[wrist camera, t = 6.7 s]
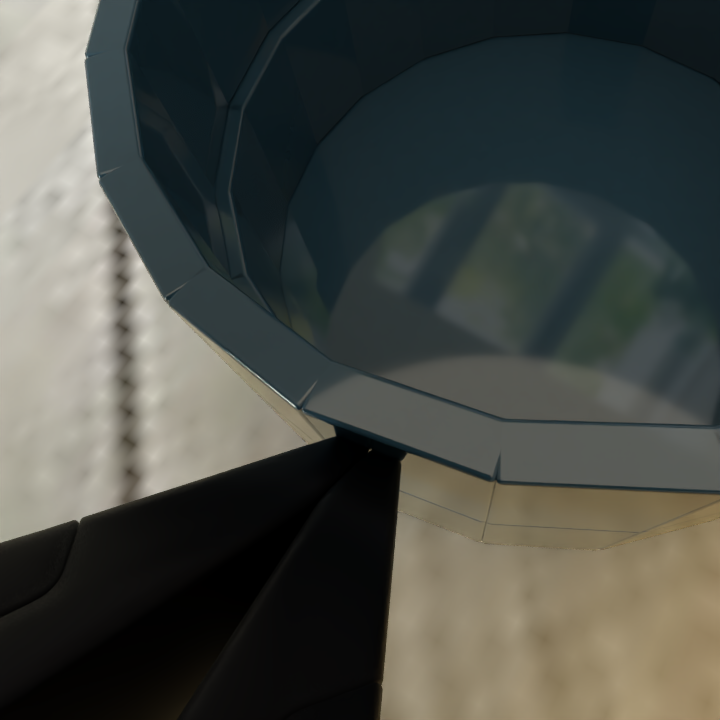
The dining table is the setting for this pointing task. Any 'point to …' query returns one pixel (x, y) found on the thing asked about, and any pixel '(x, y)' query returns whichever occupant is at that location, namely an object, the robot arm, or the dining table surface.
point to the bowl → (444, 238)
